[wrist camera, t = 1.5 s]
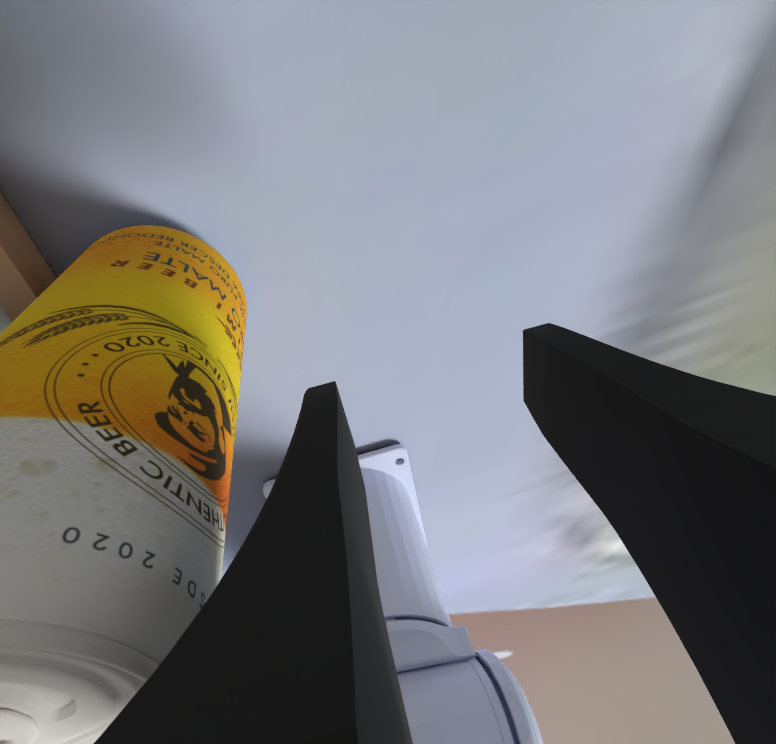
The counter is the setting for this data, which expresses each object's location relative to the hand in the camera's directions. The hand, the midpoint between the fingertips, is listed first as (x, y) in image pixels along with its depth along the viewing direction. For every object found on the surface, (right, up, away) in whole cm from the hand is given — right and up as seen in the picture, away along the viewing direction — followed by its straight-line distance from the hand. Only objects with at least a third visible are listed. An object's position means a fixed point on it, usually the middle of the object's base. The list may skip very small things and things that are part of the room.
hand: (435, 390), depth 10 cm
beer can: (-10, +4, +8) cm, 13 cm away
